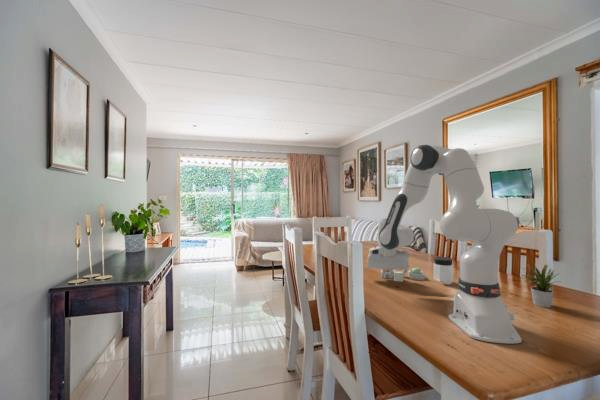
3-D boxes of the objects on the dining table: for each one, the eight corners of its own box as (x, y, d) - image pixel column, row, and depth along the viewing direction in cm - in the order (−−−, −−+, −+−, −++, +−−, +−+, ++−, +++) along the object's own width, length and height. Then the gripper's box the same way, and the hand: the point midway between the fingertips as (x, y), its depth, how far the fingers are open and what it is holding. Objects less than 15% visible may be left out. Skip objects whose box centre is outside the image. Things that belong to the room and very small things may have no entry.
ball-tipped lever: (404, 277, 146) (410, 265, 146) (400, 276, 147) (406, 264, 146) (403, 276, 149) (409, 264, 148) (399, 274, 149) (405, 263, 148)
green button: (421, 277, 144) (421, 269, 144) (412, 277, 145) (412, 269, 145) (419, 275, 148) (419, 267, 148) (411, 275, 148) (411, 267, 148)
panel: (430, 286, 135) (429, 278, 135) (382, 283, 140) (382, 275, 140) (424, 278, 149) (424, 270, 149) (380, 276, 154) (380, 268, 154)
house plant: (521, 294, 123) (521, 257, 122) (565, 303, 113) (565, 262, 113) (515, 304, 113) (515, 263, 112) (563, 314, 103) (563, 269, 103)
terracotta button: (392, 273, 147) (392, 265, 147) (384, 272, 148) (384, 265, 148) (391, 271, 151) (391, 263, 151) (383, 270, 152) (383, 263, 152)
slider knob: (403, 281, 140) (403, 273, 139) (394, 281, 140) (394, 273, 140) (402, 279, 143) (402, 271, 143) (393, 278, 144) (393, 271, 144)
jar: (448, 286, 136) (448, 261, 136) (431, 282, 142) (431, 258, 142) (455, 282, 142) (455, 258, 142) (438, 278, 148) (438, 256, 148)
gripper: (407, 249, 144) (408, 276, 144) (366, 248, 148) (367, 274, 148) (409, 251, 137) (410, 280, 138) (366, 250, 142) (367, 278, 142)
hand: (387, 277), depth 143 cm, fingers closed
